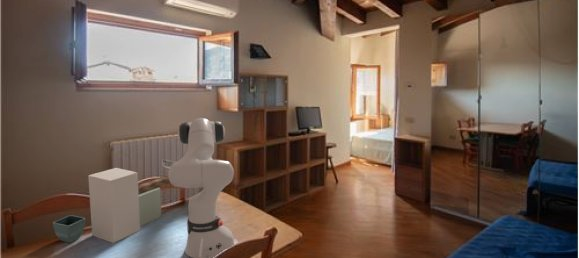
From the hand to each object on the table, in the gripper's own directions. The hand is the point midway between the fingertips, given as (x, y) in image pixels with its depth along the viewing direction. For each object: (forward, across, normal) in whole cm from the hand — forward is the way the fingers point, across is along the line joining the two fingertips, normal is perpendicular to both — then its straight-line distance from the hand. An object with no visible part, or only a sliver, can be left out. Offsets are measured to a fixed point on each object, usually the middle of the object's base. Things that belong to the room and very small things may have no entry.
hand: (169, 162), depth 188 cm
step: (+2, 0, +31) cm, 31 cm away
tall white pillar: (+16, 0, +39) cm, 42 cm away
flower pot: (+28, -12, +46) cm, 55 cm away
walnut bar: (+5, 0, +15) cm, 16 cm away
